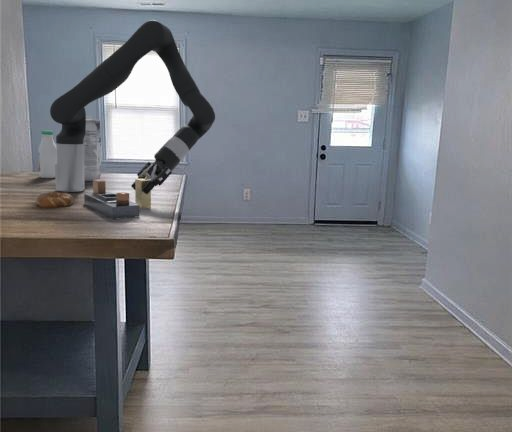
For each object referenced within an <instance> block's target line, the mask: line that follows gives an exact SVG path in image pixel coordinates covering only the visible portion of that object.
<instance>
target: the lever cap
mask: <svg viewBox="0 0 512 432" xmlns="http://www.w3.org/2000/svg"><path fill="white" fill-rule="evenodd" d="M145 178H146V177H145ZM145 178H143V179H138V178H135V179H134V180H135V181H134V182H135V190H134V191H135V192H134V193H135V195H134V196H135V202H134V203H136V204H138V205H140V208H141V210H143V209H142V208H148V209H151V208H152V190H151V191H150V192H149V193H148V194H145V193H144V192H143V191H142V189H143V188H144V186H145V185H146V184H147V183H148V182H149V181H150V180H151V179H150V180H149V179H145ZM150 182H151V181H150Z"/></svg>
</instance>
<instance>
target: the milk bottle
mask: <svg viewBox="0 0 512 432" xmlns="http://www.w3.org/2000/svg"><path fill="white" fill-rule="evenodd" d="M37 151H38V175H39V178H42V179H55V165H56V164H57V149H56V142H55V141H54V131H53V130H41V141H40V143H39V146H38V150H37Z"/></svg>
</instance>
